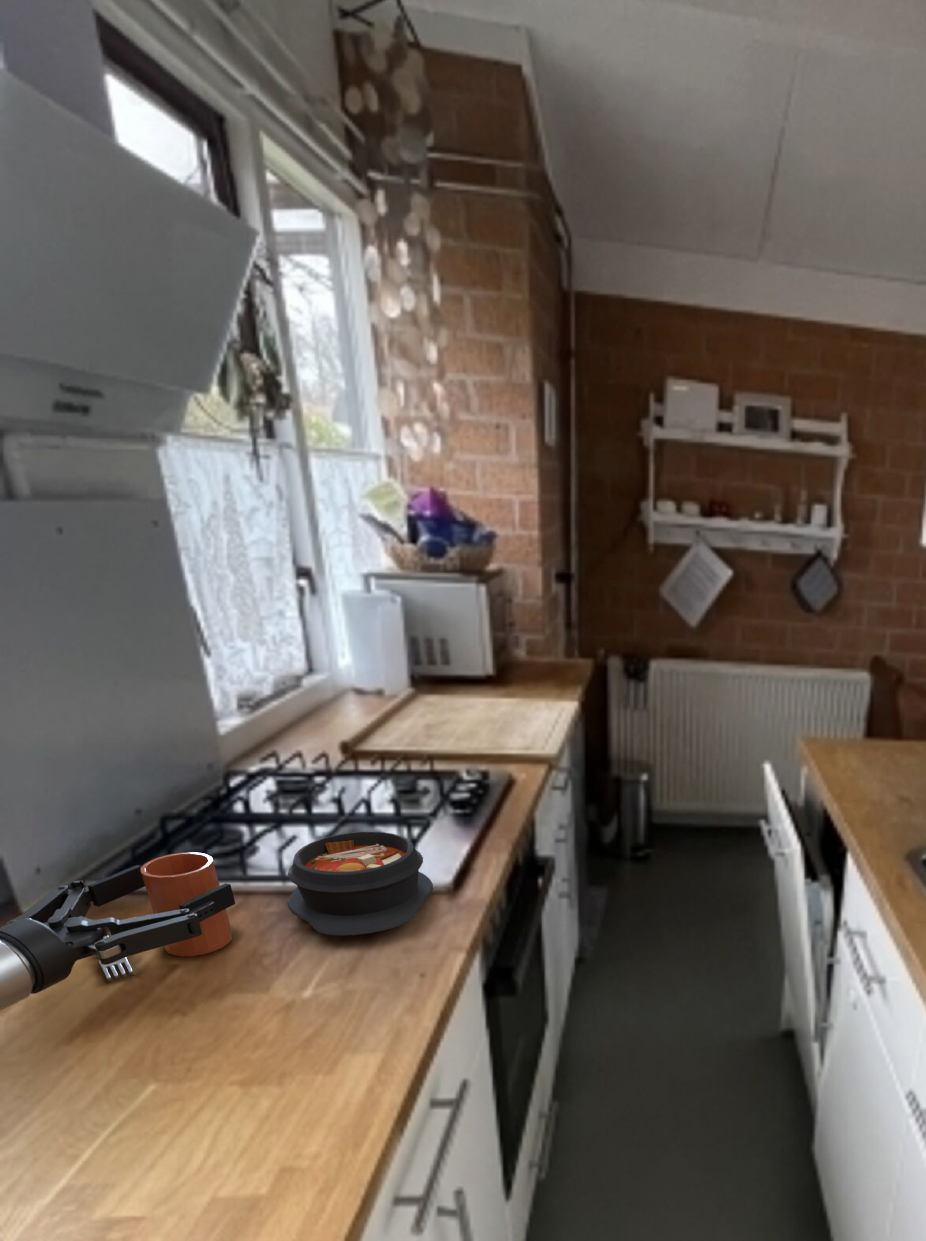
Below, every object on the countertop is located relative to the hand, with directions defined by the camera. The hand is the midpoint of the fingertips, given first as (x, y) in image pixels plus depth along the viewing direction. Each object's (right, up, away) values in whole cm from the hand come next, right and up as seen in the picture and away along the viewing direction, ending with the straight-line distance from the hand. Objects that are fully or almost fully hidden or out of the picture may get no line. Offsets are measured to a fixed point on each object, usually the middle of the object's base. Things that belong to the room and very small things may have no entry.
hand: (186, 884), depth 109 cm
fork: (-10, -8, 0) cm, 13 cm away
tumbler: (0, -7, +3) cm, 8 cm away
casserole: (+15, -3, +15) cm, 21 cm away
